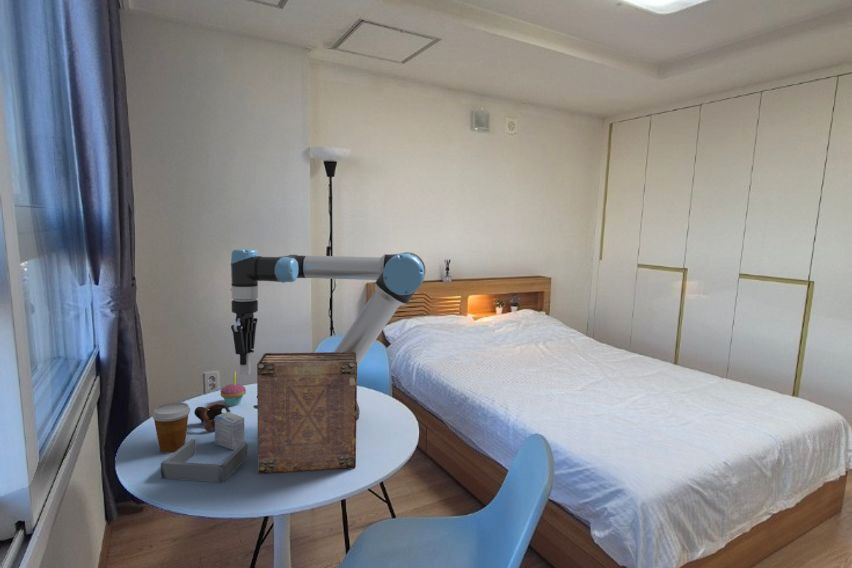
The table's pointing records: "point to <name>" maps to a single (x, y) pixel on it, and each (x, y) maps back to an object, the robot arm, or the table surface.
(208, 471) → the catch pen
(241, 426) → the medicine box
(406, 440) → the table surface
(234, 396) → the cupcake
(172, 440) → the disposable coffee cup
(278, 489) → the table surface
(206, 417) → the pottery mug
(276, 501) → the table surface
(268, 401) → the book
